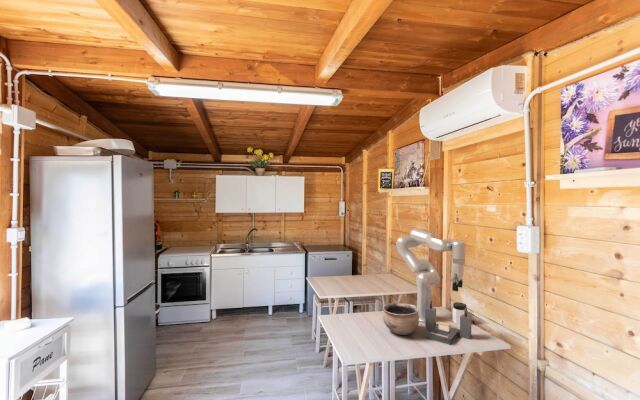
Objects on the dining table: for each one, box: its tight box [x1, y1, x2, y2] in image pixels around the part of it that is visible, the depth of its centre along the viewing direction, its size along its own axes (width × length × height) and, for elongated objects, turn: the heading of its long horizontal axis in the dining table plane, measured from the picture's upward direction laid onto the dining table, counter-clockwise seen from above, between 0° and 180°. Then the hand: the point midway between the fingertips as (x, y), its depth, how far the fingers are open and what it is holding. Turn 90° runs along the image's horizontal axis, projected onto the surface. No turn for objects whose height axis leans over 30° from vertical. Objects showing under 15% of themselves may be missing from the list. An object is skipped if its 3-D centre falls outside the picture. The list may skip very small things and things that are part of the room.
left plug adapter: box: [424, 299, 437, 330], centre depth 202 cm, size 5×5×17 cm
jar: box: [451, 302, 467, 325], centre depth 211 cm, size 9×8×12 cm
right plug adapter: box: [459, 306, 472, 340], centre depth 189 cm, size 5×5×17 cm
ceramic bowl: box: [382, 302, 420, 336], centre depth 195 cm, size 22×22×15 cm
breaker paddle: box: [438, 321, 451, 332], centre depth 191 cm, size 6×2×4 cm, turn 50°
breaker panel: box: [425, 323, 460, 345], centre depth 189 cm, size 14×18×3 cm
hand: (457, 289), depth 195 cm, fingers open, 9 cm apart
